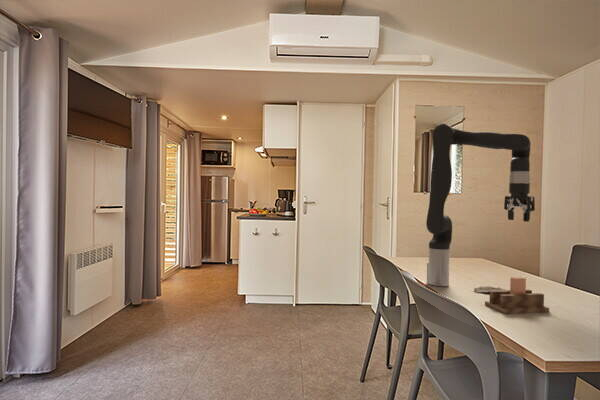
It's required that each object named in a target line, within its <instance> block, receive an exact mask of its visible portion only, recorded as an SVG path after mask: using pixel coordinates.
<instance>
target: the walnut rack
mask: <svg viewBox="0 0 600 400" xmlns="http://www.w3.org/2000/svg"><path fill="white" fill-rule="evenodd" d="M484 306H486V307H488V308H490V309H493V310H495V311H497V312H500V313H502V314H504V315H515V314H517V315H518V314H534V313H535V314H536V313H540V314H541V313H549V312H550V307H547V306H545V294H544V293H542V292H541V293H540V292H539V293H538V292H537V293H535V292H534V293H533V291H532V289H527V288H526V294H510V289H505V290H500V291H490V292H489V300H488V301H487V300H486V301H484Z"/></svg>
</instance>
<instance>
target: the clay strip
mask: <svg viewBox="0 0 600 400" xmlns="http://www.w3.org/2000/svg"><path fill="white" fill-rule="evenodd" d="M526 280H527V278H525V277H523V276H516V277H515V276H512V277H511V276H510V283H509V286H510V287H509V290H510V294H526V290H527V288H526V287H527V286H526V285H527V284H526V283H527V281H526Z"/></svg>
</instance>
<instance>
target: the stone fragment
mask: <svg viewBox="0 0 600 400" xmlns="http://www.w3.org/2000/svg"><path fill="white" fill-rule="evenodd" d="M500 290H506V288H501V287H499V286H498V287H492V286H482V285H481V286H480V287H474V289H473V292H474V293H475V294H476V293H490V291H500Z"/></svg>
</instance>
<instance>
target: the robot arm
mask: <svg viewBox="0 0 600 400" xmlns="http://www.w3.org/2000/svg"><path fill="white" fill-rule="evenodd" d="M431 137H432V161H431V170H430V171H431V172H430V185H429V186H430V188H429V189H430V190H429V204H428V210H427V216H426V221H425V222H426V223H425V224H426V225H425V226H426V229H427V231H428V232H429V233H430V234H432V238H431V240H430V241H429V242H428V262H427V263H426V283H427V284H428V285H431V286H435V287H448V286H450V254H451V253H450V251H451V249H450V246H451V243H452V237H453V222H452V219H451V217H450V216H449V215H446V214H445V205H446V204H445V203H446V201H447V198H448V196H449V194H450V192H451V190H452V189H451V188H452V180H453V170H452V169H453V168H452V163H451V158H450V157H451V156H450V152H451V146H453V145H455V146H456V145H463V146H471V147H480V148H483V149H484V148H486V149H491V150H492V149H493V150H507V151H511V160H510V168H509V171H510V172H509V178H508V179H509V180H508V181H509V182H508V184H509V185H508V186H509V187H508V193H509V194H510V195H504V203H503V204H504V205H503V209H504V210H506V211H507V219H508V221H514V219H515V218H514V217H515V209H517V208H518V207H519V208H521V209H522V210H523V214H522V215H523V216H522V217H523V218H522V221H523V222H529V221H530V219H531V213H532V212H534V211H535V210H536V209H535V208H536V207H535V206H536V205H535V196H533V195H529V194H530V190H531V189H530V188H531V186H530V185H531V178H530V177H531V175H530V173H531V172H530V163H531V162H530V155H531V139H530V138H529V136H527V135H525V134H521V133H520V134H519V133H501V132H493V131H466V130H460V129H457V128H454V127H452V126H450V125H449V124H446V123H440V124H438V125H436V127H434V129H433V131H432V136H431Z"/></svg>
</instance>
